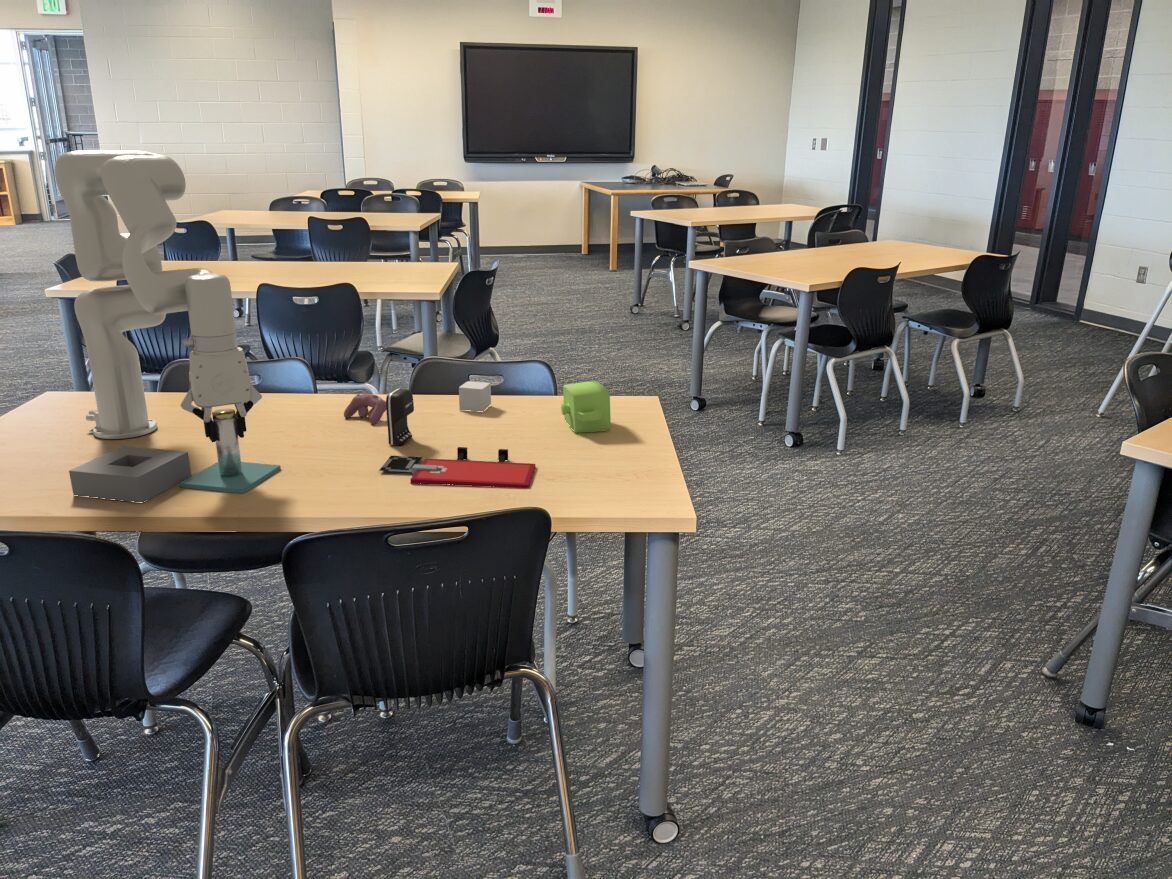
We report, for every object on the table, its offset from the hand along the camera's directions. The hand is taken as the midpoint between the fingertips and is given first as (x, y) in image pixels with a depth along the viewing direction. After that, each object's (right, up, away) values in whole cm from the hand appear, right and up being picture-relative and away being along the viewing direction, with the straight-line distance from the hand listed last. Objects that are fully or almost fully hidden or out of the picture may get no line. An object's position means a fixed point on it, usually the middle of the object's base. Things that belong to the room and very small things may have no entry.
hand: (226, 436), depth 164 cm
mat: (0, -8, +3) cm, 8 cm away
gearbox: (+67, +3, +37) cm, 77 cm away
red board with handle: (+43, -7, +8) cm, 44 cm away
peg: (0, -7, +2) cm, 7 cm away
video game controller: (+16, +4, +40) cm, 43 cm away
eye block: (-16, -9, -2) cm, 19 cm away
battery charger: (+28, -1, +24) cm, 37 cm away
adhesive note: (+41, +7, +49) cm, 64 cm away
